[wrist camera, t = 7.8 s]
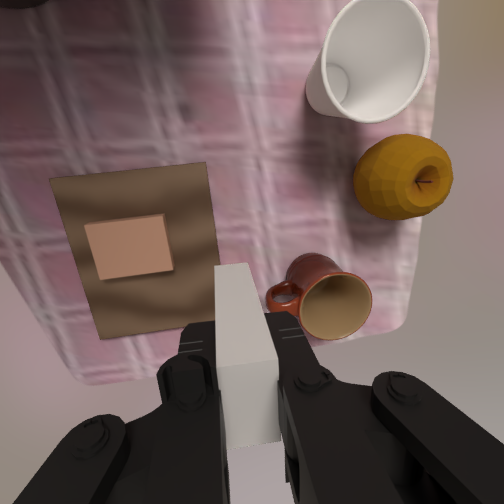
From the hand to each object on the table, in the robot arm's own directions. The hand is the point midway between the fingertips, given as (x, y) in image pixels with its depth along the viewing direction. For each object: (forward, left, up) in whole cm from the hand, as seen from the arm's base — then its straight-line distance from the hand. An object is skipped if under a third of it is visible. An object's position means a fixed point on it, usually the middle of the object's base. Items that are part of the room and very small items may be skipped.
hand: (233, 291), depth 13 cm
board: (+6, -10, -26) cm, 29 cm away
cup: (-12, +15, -26) cm, 33 cm away
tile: (+4, -7, -24) cm, 25 cm away
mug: (+12, +10, -26) cm, 31 cm away
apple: (-1, +21, -26) cm, 34 cm away
